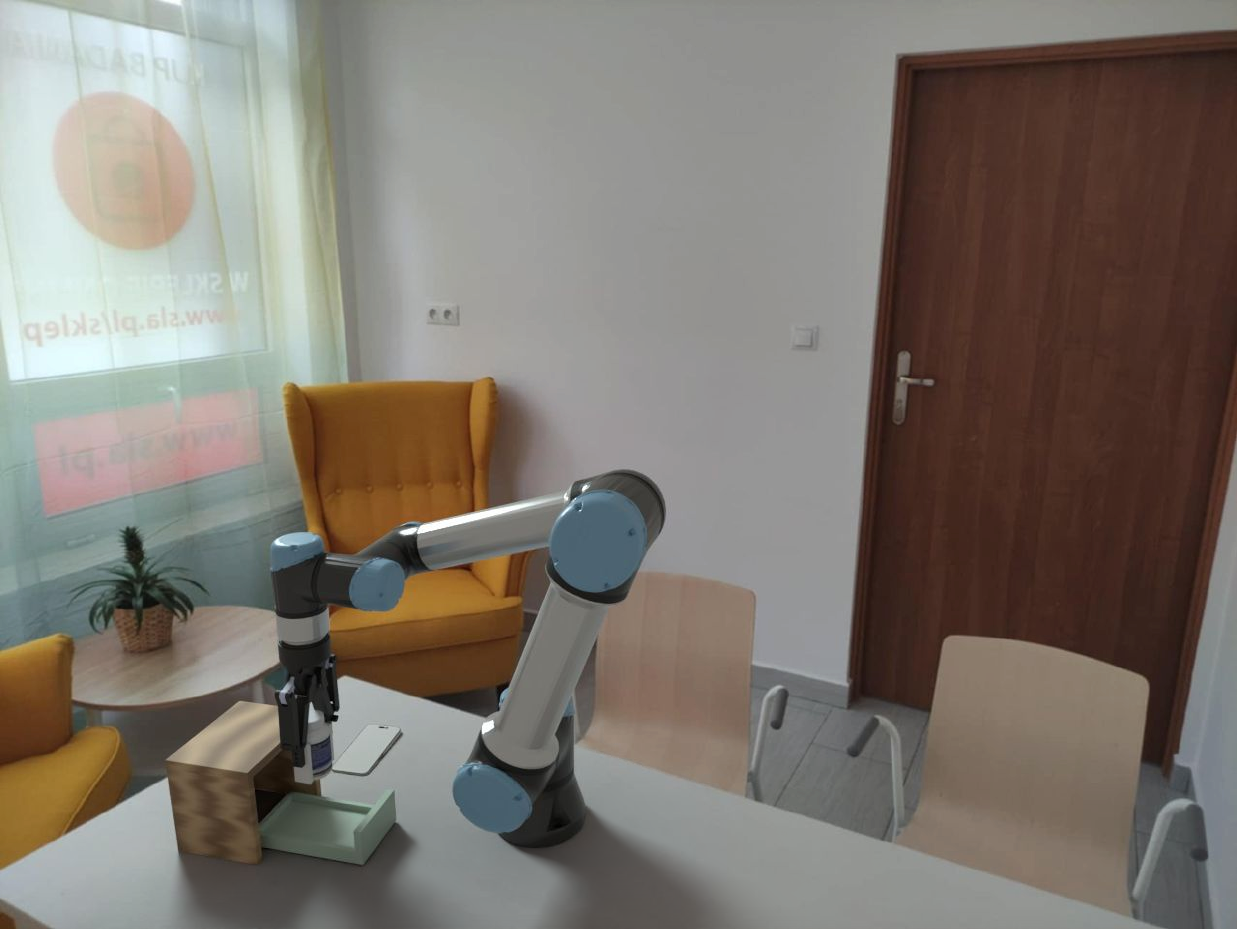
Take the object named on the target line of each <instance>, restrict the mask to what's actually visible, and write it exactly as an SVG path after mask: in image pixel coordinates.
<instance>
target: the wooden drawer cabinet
mask: <svg viewBox="0 0 1237 929" xmlns="http://www.w3.org/2000/svg"><path fill="white" fill-rule="evenodd" d="M164 761H165V767H166V774H167V775H166V776H167V782H168V789H169V795H170V802H171V803H170V804H171V811H172V817H173V818H172V819H173V825H174V832H175V839H176V846H177V847H176V848H177V851H178V852H183V853H190V854H193V855H194V854H195V855H199V856H204V857H210V858H214V859H215V858H217V859H223V860H226V861H233V862H238V863H243V864H247V865H248V864H249V865H254V866H259V865H260V864H261V862H263V852H262V847H261V843H260V834H259V825H258V824H259V819H258V818H259V816H258V809H257V801H256V791H255V790H261V791H265V792H271V793H277V794H284V795H287V794H288V793H289V792H290V791H292V792H298V793H304V794H310V795H316V796H322V787H321V786H322V784H321V779H319V780H314V781H313V783H312V784H305V783H299V782H295V776H294V766H293V763H292V752H291V751H289V750H283V749H281V745H280V731H279V716H278V705H271V704H265V703H259V702H250V701H245V700H239V701H238V702H236V703H235V704H234V705H232V706H231V707H230V708H229V709H227V710H226V711H225V712H224V713H222V714H221V715H220V716H218V717H217V718H216V719H215V720H214V721H212V722H211V723H210V724H208V725H207V726H206V727H205V728H204V729H202V730H201V731H200V732H198V733H197V734H196V735H195V736H194V737H192V738H191V739H190V740H188V741H187V742H186V743H185V744H183V745H182V746H181V747H180V748H178V749H176V750H175V752H173V753H172V754H171V755H169V756H168V757H167V758H166V759H165V760H164Z"/></svg>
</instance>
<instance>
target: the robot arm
mask: <svg viewBox="0 0 1237 929" xmlns="http://www.w3.org/2000/svg"><path fill="white" fill-rule="evenodd" d="M666 519H667V506H666V500H665V497H664V494H663V493H662V490H661V489H660V487H659V486H658V485H657V483H656V482H655V481H653V480H652V479H651V478H650V477H649V476H647V475H646V474H644V473H642V472H640V471H636V470H634V469H627V468H626V469H625V468H624V469H623V468H622V469H615V470H612V471H611V470H610V471H608V472H605V473H601V474H598V475H594V476H591V477H587V478H583V479H580V480H575V481H573V482H571V484H570V485H569V487H568V489H566V490H563V491H558V492H554V493H550V494H545V495H541V496H536V497H532V498H529V499H528V498H527V499H523V500H519V501H516V502H515V501H514V502H510V503H507V504H502V505H498V506H494V507H493V506H492V507H490V508H485V509H481V510H477V511H472V512H467V513H464V514H463V513H462V514H459V515H455V516H450V517H446V518H441V519H437V520H434V521H429V522H425V523H423V522H419V521H408V522H406V523H404V524H401V525H398V526H395V527H394V528H393V529H392V530H390V531H389V532H388V533H386V534H384V535H383V536H382V537H380V538H379V539H377V540H376V541H374V542H373V543H371V544H370V545H368V546H366V547H365V548H363V549H362V550H360V551H359V552H357V553H355V554H344V553H336V552H330V551H326V548H325V547H326V546H325V545H324V544H325V543H324V540H323V537H322V536H320V535H319V534H316V533H314V532H310V531H309V532H306V531H305V532H302V531H301V532H292V533H286V534H284V535H281V536H279V537H277V538H276V539H274V540H273V541H272V542H271V545H270V547H269V548H270V551H269V553H270V568H269V571H270V578H271V582H272V583H271V584H272V591H273V599H274V613H275V623H276V624H275V625H276V635H277V638H278V639H277V650H278V660H279V663H280V664H281V665H282V666H283V667H284V668H285V669H286V676H285V684H286V685H284V687H283V689H282V690H280V689H277V690H275V692H274V698H275V701H276V702H275V703H276V704H277V706H278V716H279V731H280V745H281V749H283V750H289V751H291V752H292V763H293V766H294V776H295V782H299V783H305V784H312V783H313V770H312V758H311V746H310V744H307V733H308V720H309V710H310V705H311V704H312V707H313V710H319V711H322V712H323V714H324V723H325V724H326V725H327V726H328V727H329V729H330V741H331V753H332V762H334V760H335V752H334V751H335V750H334V737H333V736H334V735H333V734H334V733H333V723H337V722H338V721H339V715H338V714H335V712H336V713H338V712H339V710H340V705H341V704H340V694H339V682H338V674H337V664H338V655H337V654H334V653H332V641H331V633H330V632H329V631H330V630H331V624H330V622H331V621H330V613H329V612H330V611H329V606H330V605H331V606H334V607H341V608H347V609H354V610H360V611H362V612H382V613H383V612H389V611H392V610H393V609H395V608H396V606H398V604H399V601H400V599H401V598H402V597H403V595H404V591H405V586H406V585H405V584H406V581H407V580H408V579H409V578H410V577H411V578H412V577H413V576H415V575H420V574H424V573H428V572H433V571H434V572H435V571H436V570H441V569H446V568H451V567H455V566H460V565H466V564H470V563H476V562H481V561H485V560H489V559H495V558H499V557H505V556H509V555H514V554H520V553H524V552H529V551H533V550H538V549H543V548H548V547H549V556H548V558H547V561H546V563H545V566H544V568H545V569H544V570H545V574H546V575H547V577H548V579H549V581H550V584H549V586H548V589H547V592H546V594H545V596H544V598H543V601H542V603H541V606H540V608H539V611H538V614H537V616H536V619H535V621H534V624H533V626H532V629H531V631H530V632H529V636H528V639H527V640H526V644H525V647H524V648H523V651H522V654H521V656H520V659H519V661H518V664H517V666H516V669H515V671H514V672H513V673H514V674H513V676H512V678H511V681H510V683H509V686H508V687H507V688H506V689H504V690H503V691H502V692H501V694H500V697H499V703H498V708H499V711H495V712H493V713H491V714H490V715H488V716H487V717H486V718H485V719H484V721H483V722H482V725H481V727H480V730H479V732H478V735H477V738H476V740H475V742H474V744H473V745H474V746H473V748H472V750H471V752H470V754H469V757H468V758H467V760H466V761H465V763H464V764H463V765H461V766H460V768H459V769H457V773H456V775H455V777H454V779H453V781H452V788H451V789H452V790H451V791H452V796H453V800H454V804H455V805H456V806H457V807H458V808H459V811H460V813H461V815H462V816H463V817H465V819H466V820H467V821H468V822H470V823H471V824H472V825H474V826H475V827H478V828H479V829H481V830H483V831H485V832H489V833H493V834H498V835H499V836H500V837H501V838H502V839H504V840H505V841H507V842H509V843H511V844H513V845H517V846H520V847H525V848H543V847H550V846H555V845H558V844H561V843H563V842H565V841H568V840H569V839H571V838H573V837H574V836H575V835H576V834H577V833H578V832H579V831H580V830H581V828H582V827H583V825H584V822H585V820H586V803H585V798H584V796H583V794H582V791H581V788H580V786H579V785H580V784H579V783H578V781H577V777H576V775H575V713H576V710H575V709H574V698H573V694H574V691H575V689H576V688H577V684H578V681H579V680H580V676H581V675H582V672H583V670H584V667H585V665H586V664H587V662H588V659H589V656H590V655H591V651H592V649H593V647H594V645H595V642H596V641H597V638H598V636H599V633H600V631H601V629H602V626H603V623H604V621H605V619H606V617H607V614H608V612H609V610H610V608H611V607H614V606H617V605H620V604H622V603H623V602H624V601H625V600H626V599H627V597H628V594H629V592H630V590H631V588H632V585H633V583H634V581H635V579H636V576H637V574H638V572H639V569H640V568H641V565H642V563H643V561H644V559H645V557H646V555H647V553H648V551H649V550H650V549H651V547H652V545H654V543H655V541H656V540H657V538H658V537H659V536H660V535H661V532H662V531H663V528H664V527H665V522H666ZM331 702H332V703H331Z"/></svg>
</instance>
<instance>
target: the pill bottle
mask: <svg viewBox="0 0 1237 929" xmlns="http://www.w3.org/2000/svg"><path fill="white" fill-rule="evenodd" d="M307 744H310V746H311V758H312V770H313V781H314V780H319V779H320V780H322V779H324V778H326V777H327V776H328V775H330V773H331V772H333V771H332V766H333V761H332V753H331V741H330V729H329V727H328V726H327V725H326V724H325V723H324V714H323V712H322V711H319V710H314V709H309V720H308V733H307Z"/></svg>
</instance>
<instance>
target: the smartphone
mask: <svg viewBox="0 0 1237 929" xmlns="http://www.w3.org/2000/svg"><path fill="white" fill-rule="evenodd" d="M401 734H402V729H401V728H400V727H398V726H393V725H383V724H375V723H369V724H366V725H365V727H364V728H363V729H362V730H361V731H360V733H358V735H357V736H356V737H355V739H354V740H353V741H352V742H351V743H350V745H349V746H348V747H347V748H346V749H345V750H344V751H343V753H341V755H340V756H339V757H338V759H337V760H336V761H335V762H334V763H333V764H332V771H331V772H333V773H340V774H348V775H352V776H353V775H354V776H360V777H361V776H362V777H363V776H367V775H369V774H370V773H371V771H372V770H373V769H374V768H375V766H376V765H377V764H378V763H379V761H380V760H381V759H382V758H383V757H384V755H385V754H386V753H387V752H388V750H389V749H390V748H391V747H392V746H393V744H394V743H395V742H396V740H397V739H399V736H400V735H401Z"/></svg>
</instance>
